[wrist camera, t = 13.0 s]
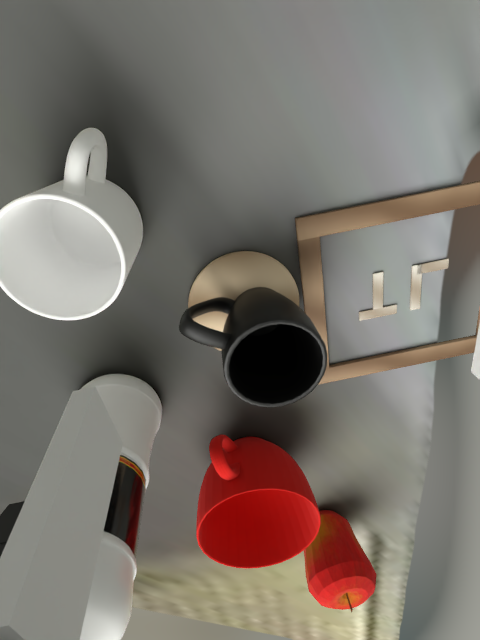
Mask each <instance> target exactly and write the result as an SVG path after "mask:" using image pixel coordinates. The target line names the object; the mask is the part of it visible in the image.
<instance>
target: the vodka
mask: <svg viewBox="0 0 480 640" xmlns="http://www.w3.org/2000/svg"><path fill="white" fill-rule="evenodd" d="M91 387H96V389H97V391H98V393H99V395H100V397H101V399H102V401H103V403H104V406H105V408H106V410H107V412H108V414H109V416H110V418H111V420H112V422H113V424H114V426H115V428H116V430H117V432H118V434H119V436H120V438H121V440H122V442H123V445H122V449H121V454H120V458H119V463H118V467H117V472H116V476H115V481H114V486H113V490H112V495H111V499H110V504H109V508H108V513H107V517H106V522H105V526H104V531H103V536H102V540H101V545H100V549H99V554H98V558H97V563H96V567H95V572H94V577H93V581H92V586H91V590H90V595H89V599H88V604H87V608H86V613H85V617H84V622H83V627H82V631H81V636H80V640H120V639H121V638H122V636H123V634H124V632H125V630H126V627H127V625H128V622H129V619H130V615H131V611H132V601H133V581H134V579H135V576H136V570H137V566H136V553H137V546H138V539H139V532H140V525H141V517H142V510H143V503H144V496H145V489H146V488H147V486H148V483H149V460H150V454H151V450H152V445H153V441H154V438H155V435H156V433H157V431H158V429H159V427H160V422H161V417H162V405H161V401H160V399H159V397H158V395H157V394H156V392H155V391H154V389H153V388H152V387H151V386H150V385H148V384H147V383H146V382H144V381H143V380H141V379H139V378H136V377H134V376H130V375H126V374H108V375H103V376H100V377H97V378H95V379H93V380H92V381H90V382H88V383H87V384H85V385H84V386H83V387H82V388H81V389H86V388H91ZM81 389H80V390H81Z"/></svg>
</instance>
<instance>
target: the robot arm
mask: <svg viewBox="0 0 480 640" xmlns="http://www.w3.org/2000/svg"><path fill="white" fill-rule="evenodd" d="M471 372H472V373H473V374H474V375H475V376H476V377H477V378H478V379H479V380H480V323H479V328H478V334H477V340H476V346H475V352H474V357H473V364H472V369H471ZM122 445H123V442H122V440H121V438H120V436H119V434H118V432H117V430H116V428H115V426H114V424H113V422H112V420H111V418H110V416H109V414H108V412H107V410H106V408H105V406H104V403H103V401H102V399H101V397H100V395H99V393H98V391H97V389H96V387H91V388H86V389H81V390H76V391H73V392H72V394H71V396H70V399H69V401H68V403H67V406H66V408H65V410H64V412H63V415H62V417H61V419H60V422H59V424H58V426H57V428H56V431H55V433H54V435H53V438H52V440H51V442H50V445H49V447H48V449H47V451H46V454H45V456H44V458H43V461H42V463H41V465H40V467H39V470H38V472H37V474H36V477H35V479H34V481H33V484H32V486H31V488H30V490H29V493H28V495H27V497H26V500H25V501H24V502H19V503H14V504H9V505H8V506H7V508H6V509H5V510H4V511H3V513H2V514H1V515H0V640H80V636H81V631H82V627H83V622H84V617H85V613H86V608H87V604H88V599H89V595H90V590H91V586H92V581H93V577H94V572H95V567H96V563H97V558H98V554H99V549H100V545H101V540H102V536H103V531H104V526H105V522H106V517H107V513H108V508H109V504H110V499H111V495H112V490H113V486H114V481H115V476H116V472H117V467H118V463H119V458H120V454H121V449H122Z"/></svg>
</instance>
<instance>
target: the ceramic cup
mask: <svg viewBox="0 0 480 640" xmlns="http://www.w3.org/2000/svg"><path fill="white" fill-rule="evenodd" d="M209 451H210V457H211V460H212V463H211V464H210V466H209V468H208V469H207V471H206V474H205V476H204V480H203V483H202V486H201V490H200V494H199V501H198V511H197V533H196V535H197V540H198V544H199V546H200V548H201V549H202V551H203V552H204V553H205V554H206V555H207V556H208V557H209V558H211V559H213V560H214V561H216V562H218V563H221V564H224V565H227V566H231V567H236V568H260V567H265V566H271V565H274V564H278V563H281V562H283V561H286V560H288V559H290V558H292V557H294V556H296V555H297V554H299V553H301V552H302V551H303V550H304V549H306V548H307V547H308V546H309V545H310V544H311V543H312V541H313V540H314V539H315V537H316V535H317V534H318V532H319V528H320V524H321V519H320V512H319V509H318V506H317V503H316V500H315V498H314V495H313V493H312V490H311V488H310V486H309V483H308V481H307V479H306V477H305V475H304V473H303V472H302V470H301V469H300V467H299V466H298V464H297V463H296V462H295V460H294V459H293V458H292V457H291V456H290V455H289V454H288V453H287V452H286V451H284V450H283V449H282V448H281V447H279V446H277V445H275V444H273V443H271V442H269V441H266V440H264V439H262V438H258V437H244V438H240V439H237V440H235V441H232V440H231V439H230V438H229V437H228V436H226V435H218V436H216V437H214V438H213V439H212V440H211V442H210V445H209Z"/></svg>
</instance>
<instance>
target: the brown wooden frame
mask: <svg viewBox="0 0 480 640" xmlns="http://www.w3.org/2000/svg"><path fill="white" fill-rule="evenodd" d="M478 204H480V181H477V182H472V183H467V184H463V185H457V186H452V187H447V188H442V189H437V190H432V191H427V192H422V193H417V194H412V195H407V196H402V197H397V198H392V199H387V200H382V201H377V202H373V203H368V204H363V205H358V206H353V207H348V208H343V209H338V210H333V211H328V212H323V213H318V214H313V215H308V216H303V217H298V218H295V224H296V234H297V244H298V253H299V263H300V273H301V283H302V292H303V302H304V312H305V313H306V314H307V316H308V317H309V318H310V319H311V321H312V322H313V324H314V326H315V327H316V329H317V331H318V332H319V334H320V336H321V338H322V339H323V341H324V343H325V345H326V350H327V367H326V370H325V373H324V376H323V377H322V379H321V381H320V382H319V384H323V383H328V382H333V381H338V380H343V379H348V378H352V377H357V376H362V375H367V374H372V373H377V372H382V371H387V370H391V369H396V368H401V367H406V366H411V365H416V364H421V363H425V362H430V361H435V360H440V359H445V358H450V357H455V356H459V355H464V354H469V353H474V352H475V346H476V340H477V334H478V328H479V323H480V308H479V316H478V321H477V328H476V335H474V336H469V337H463V338H458V339H454V340H449V341H444V342H439V343H434V344H429V345H424V346H419V347H415V348H410V349H405V350H400V351H395V352H390V353H385V354H380V355H376V356H371V357H366V358H361V359H356V360H351V361H346V362H342V363H337V364H332V365H329V358H328V344H327V330H326V317H325V303H324V290H323V276H322V263H321V249H320V236H325V235H330V234H335V233H340V232H345V231H350V230H355V229H360V228H365V227H370V226H375V225H380V224H385V223H390V222H394V221H399V220H404V219H409V218H414V217H419V216H424V215H429V214H434V213H439V212H444V211H449V210H454V209H459V208H464V207H469V206H474V205H478ZM448 262H449V259H448V258H447V259H443V260H438V261H433V262H428V263H423V264H418V265H413V266H412V273H411V294H410V310H415V309H420V296H421V280H422V273H427V272H432V271H437V270H442V269H447V268H448ZM395 313H397V304H395V305H390V306H385V307H383V272H378V273H374V274H373V309H370V310H365V311H360V312H359V321H361V320H366V319H371V318H376V317H381V316H386V315H391V314H395Z"/></svg>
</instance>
